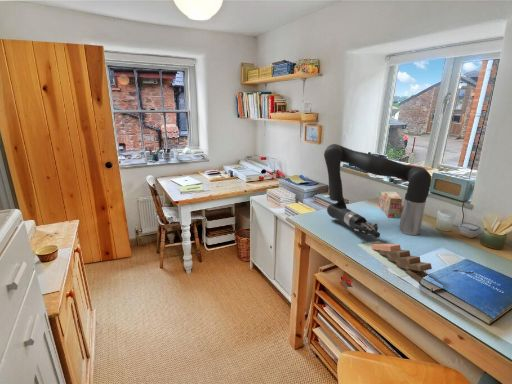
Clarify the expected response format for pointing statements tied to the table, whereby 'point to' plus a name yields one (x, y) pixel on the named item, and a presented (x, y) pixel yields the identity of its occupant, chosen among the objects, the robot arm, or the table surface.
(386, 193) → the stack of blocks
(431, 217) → the table surface
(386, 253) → the domino
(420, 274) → the domino
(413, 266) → the domino
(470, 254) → the table surface
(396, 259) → the domino
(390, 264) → the domino mat
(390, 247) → the loose domino
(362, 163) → the robot arm
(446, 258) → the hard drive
